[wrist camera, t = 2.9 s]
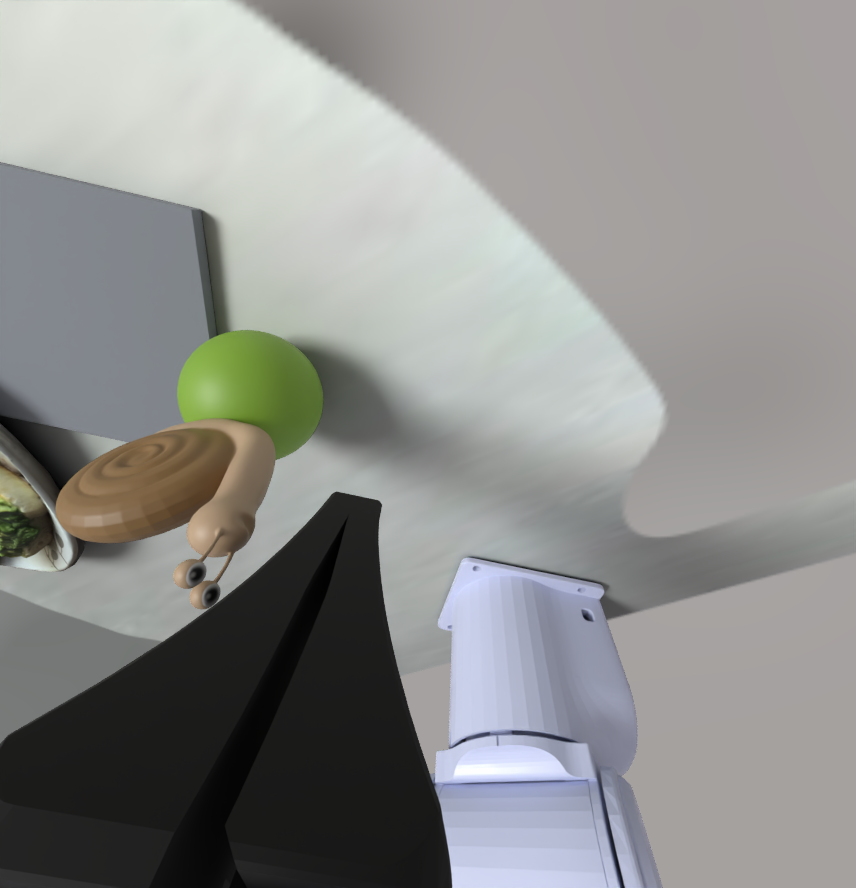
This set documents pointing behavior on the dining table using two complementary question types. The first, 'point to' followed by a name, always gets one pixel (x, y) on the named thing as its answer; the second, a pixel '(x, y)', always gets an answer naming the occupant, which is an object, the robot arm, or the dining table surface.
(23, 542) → the salad plate
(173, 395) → the slate mat
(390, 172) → the dining table surface
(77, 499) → the snail figurine
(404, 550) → the dining table surface
